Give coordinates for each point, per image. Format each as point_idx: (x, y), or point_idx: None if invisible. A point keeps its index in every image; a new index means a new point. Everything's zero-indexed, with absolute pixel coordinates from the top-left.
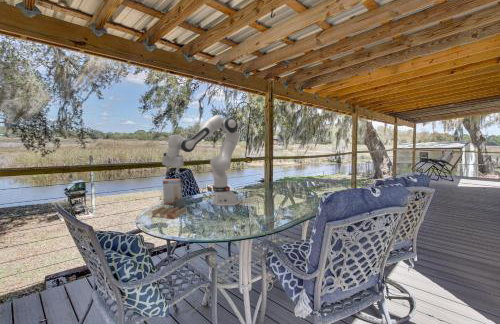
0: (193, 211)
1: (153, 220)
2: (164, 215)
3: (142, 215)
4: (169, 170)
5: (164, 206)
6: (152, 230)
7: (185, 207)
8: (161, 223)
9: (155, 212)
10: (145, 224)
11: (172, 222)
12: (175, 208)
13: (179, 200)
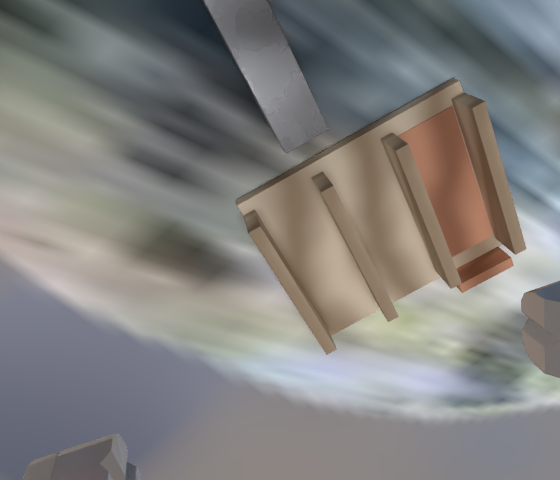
0: (486, 9)
1: (404, 347)
2: (402, 276)
3: (226, 366)
4: (101, 464)
5: (263, 230)
6: (546, 395)
7: (483, 105)
8: (499, 332)
9: (321, 320)
10: (432, 397)
11: (546, 280)
12: (425, 192)
13: (294, 60)
